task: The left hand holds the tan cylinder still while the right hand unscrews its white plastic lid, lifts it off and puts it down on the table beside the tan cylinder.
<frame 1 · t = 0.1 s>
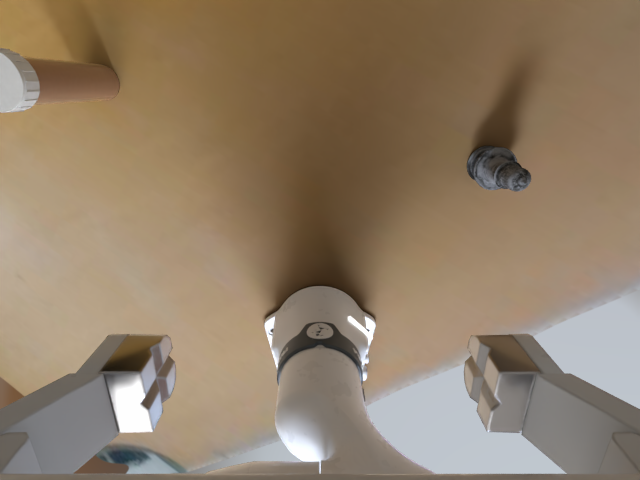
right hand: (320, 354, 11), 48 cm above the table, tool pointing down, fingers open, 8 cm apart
tan cylinder: (102, 82, 53), on the table
grey stone chess piece: (484, 164, 57), on the table
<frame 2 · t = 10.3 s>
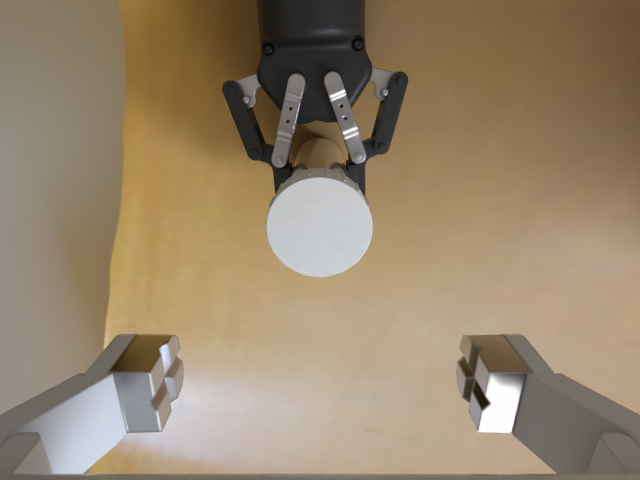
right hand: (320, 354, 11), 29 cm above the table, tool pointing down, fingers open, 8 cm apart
left hand: (321, 207, 33), fingers closed on tan cylinder, 4 cm apart
tan cylinder: (319, 161, 38), on the table, touching left hand
lid: (319, 227, 20), point 19 cm above the table, screwed on, not yet turned
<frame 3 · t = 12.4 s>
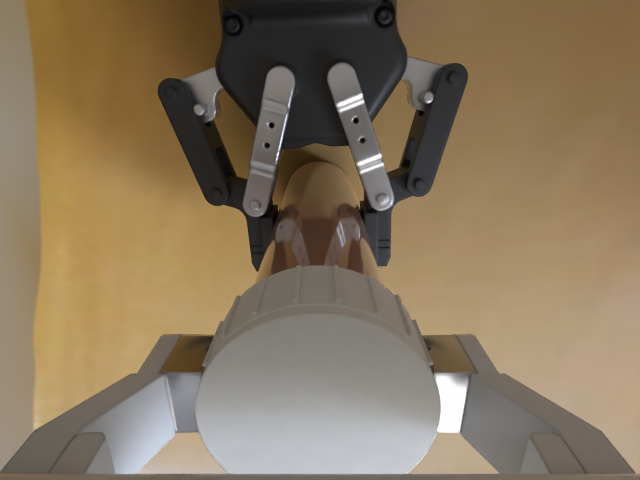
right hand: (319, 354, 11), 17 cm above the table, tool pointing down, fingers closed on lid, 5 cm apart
left hand: (322, 271, 21), fingers closed on tan cylinder, 4 cm apart
tan cylinder: (319, 194, 26), on the table, touching left hand
lid: (318, 407, 9), point 19 cm above the table, screwed on, not yet turned, touching right hand
when the right hand's fingers open (17 cm above the table, at t = 13.7 s): lid stays where it is, point 19 cm above the table.
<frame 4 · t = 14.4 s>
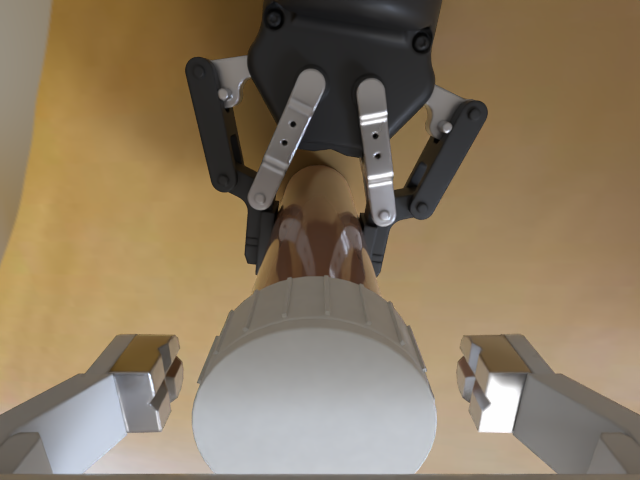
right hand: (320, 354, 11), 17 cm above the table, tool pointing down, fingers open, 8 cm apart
left hand: (311, 274, 22), fingers closed on tan cylinder, 4 cm apart
tan cylinder: (317, 198, 27), on the table, touching left hand
lid: (314, 418, 9), point 19 cm above the table, turned 71° so far, risen 0.2 cm, still on its thread
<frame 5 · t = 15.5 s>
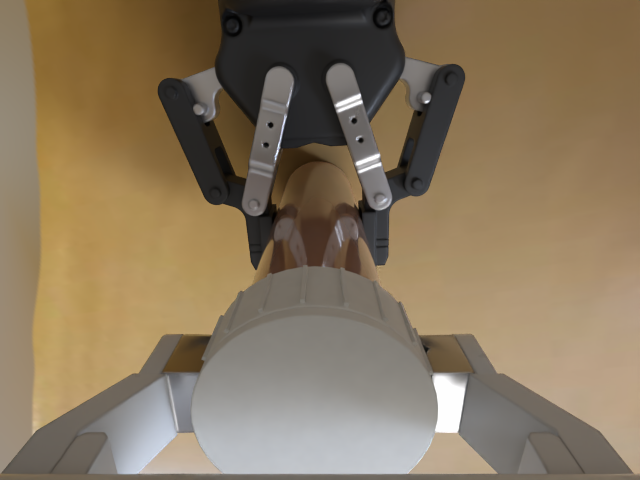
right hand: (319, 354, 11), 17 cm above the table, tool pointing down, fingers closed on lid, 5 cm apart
left hand: (320, 270, 22), fingers closed on tan cylinder, 4 cm apart
tan cylinder: (318, 194, 26), on the table, touching left hand
lid: (314, 409, 9), point 19 cm above the table, turned 71° so far, risen 0.2 cm, still on its thread, touching right hand
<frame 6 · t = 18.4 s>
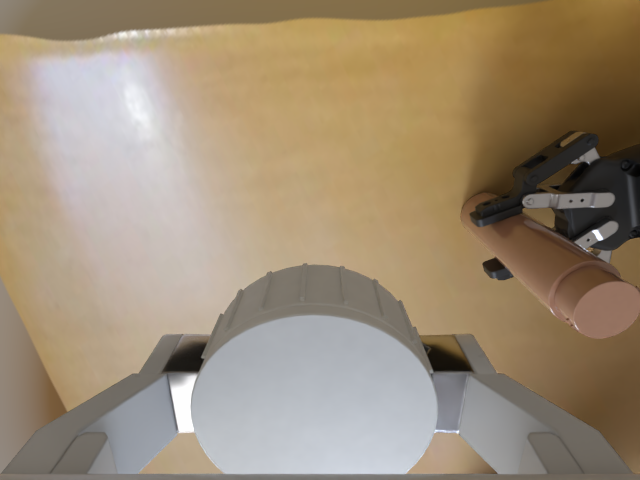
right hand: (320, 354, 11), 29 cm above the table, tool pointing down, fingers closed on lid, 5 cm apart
tan cylinder: (482, 214, 40), on the table, touching left hand
lid: (314, 407, 9), point 31 cm above the table, off its thread, touching right hand
when the right hand's fingers open (2 cm above the table, at t = 21.6 s): lid drops 2 cm, point 2 cm above the table.
when the left hand's fingers open (6 cm above the table, at t = 22.7 s): tan cylinder stays where it is, on the table.
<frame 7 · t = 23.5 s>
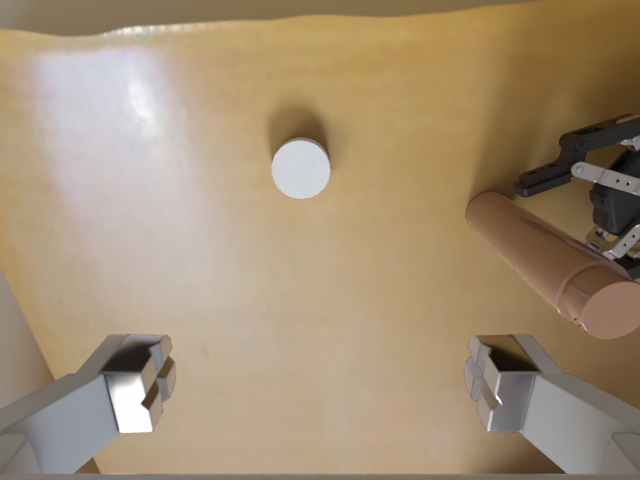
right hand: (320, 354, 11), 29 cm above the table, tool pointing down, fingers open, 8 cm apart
tan cylinder: (487, 213, 40), on the table
lid: (301, 169, 36), point 2 cm above the table, off its thread
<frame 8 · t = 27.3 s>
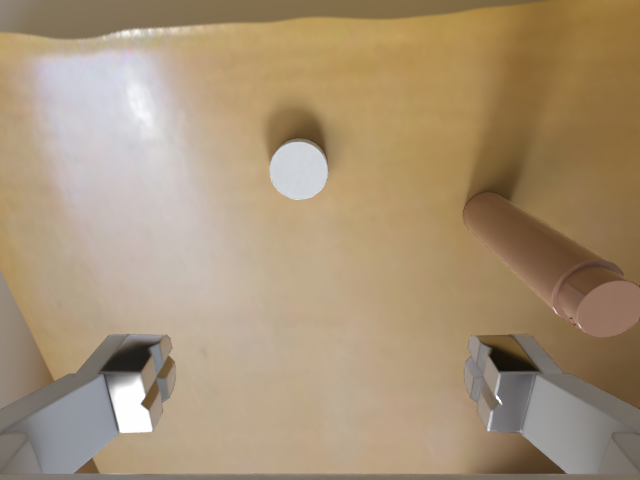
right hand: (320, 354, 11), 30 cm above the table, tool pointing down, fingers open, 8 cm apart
tan cylinder: (484, 213, 40), on the table
lid: (298, 170, 36), point 2 cm above the table, off its thread
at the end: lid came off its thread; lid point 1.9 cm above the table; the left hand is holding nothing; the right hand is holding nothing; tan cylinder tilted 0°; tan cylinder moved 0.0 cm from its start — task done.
